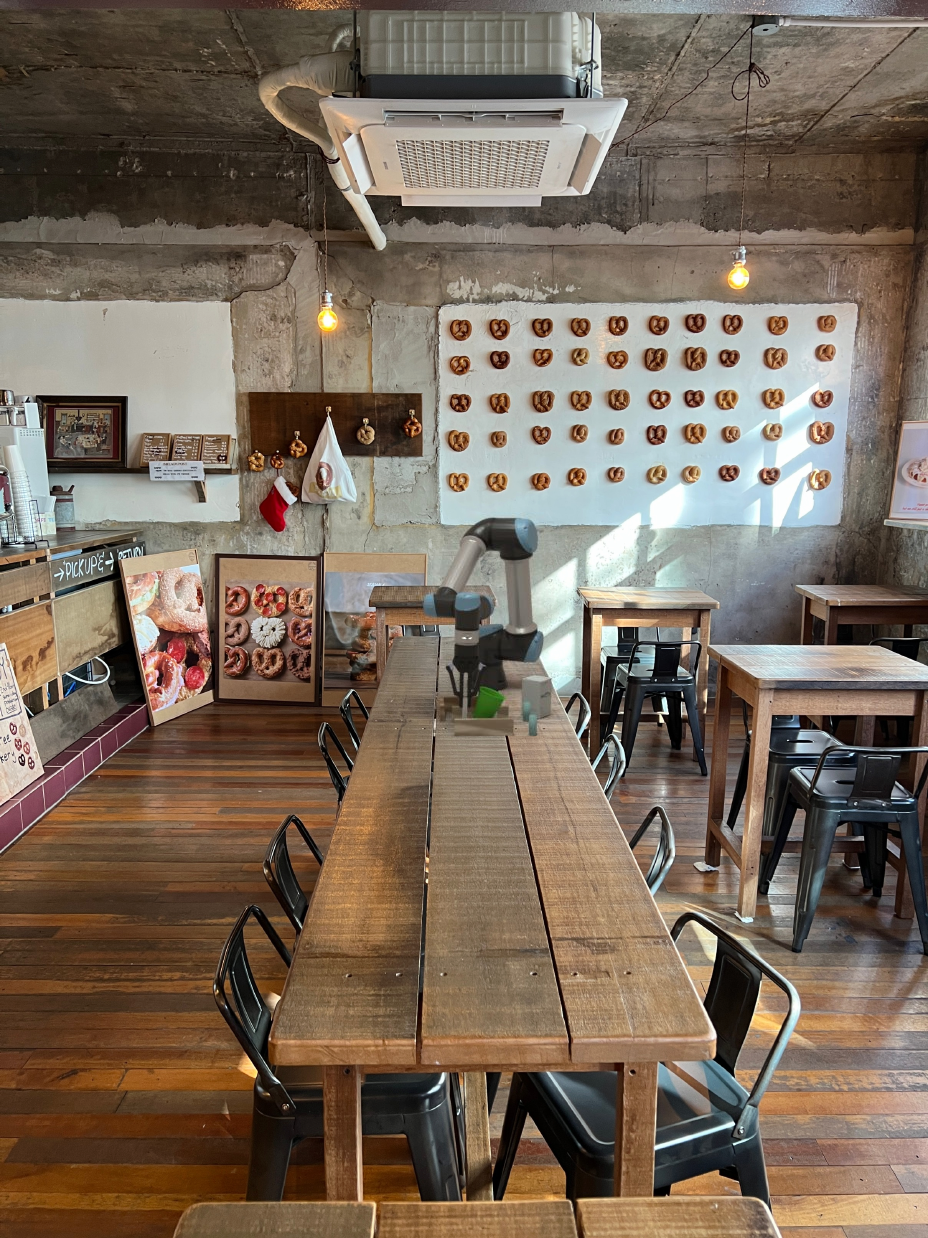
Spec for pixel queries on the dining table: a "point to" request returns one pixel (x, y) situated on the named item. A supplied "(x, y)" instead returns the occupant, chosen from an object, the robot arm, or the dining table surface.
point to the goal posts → (530, 718)
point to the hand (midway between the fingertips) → (464, 717)
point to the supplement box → (537, 695)
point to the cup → (487, 703)
